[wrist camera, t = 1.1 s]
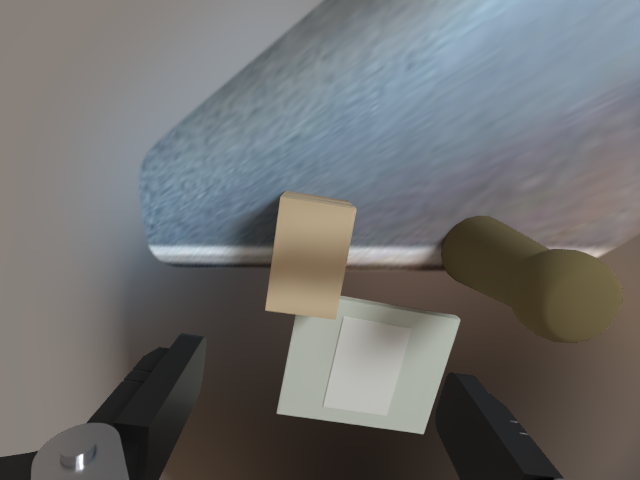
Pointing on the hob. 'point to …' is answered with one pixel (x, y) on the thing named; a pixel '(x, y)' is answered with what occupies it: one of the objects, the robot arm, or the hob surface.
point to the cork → (534, 279)
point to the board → (367, 365)
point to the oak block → (309, 255)
